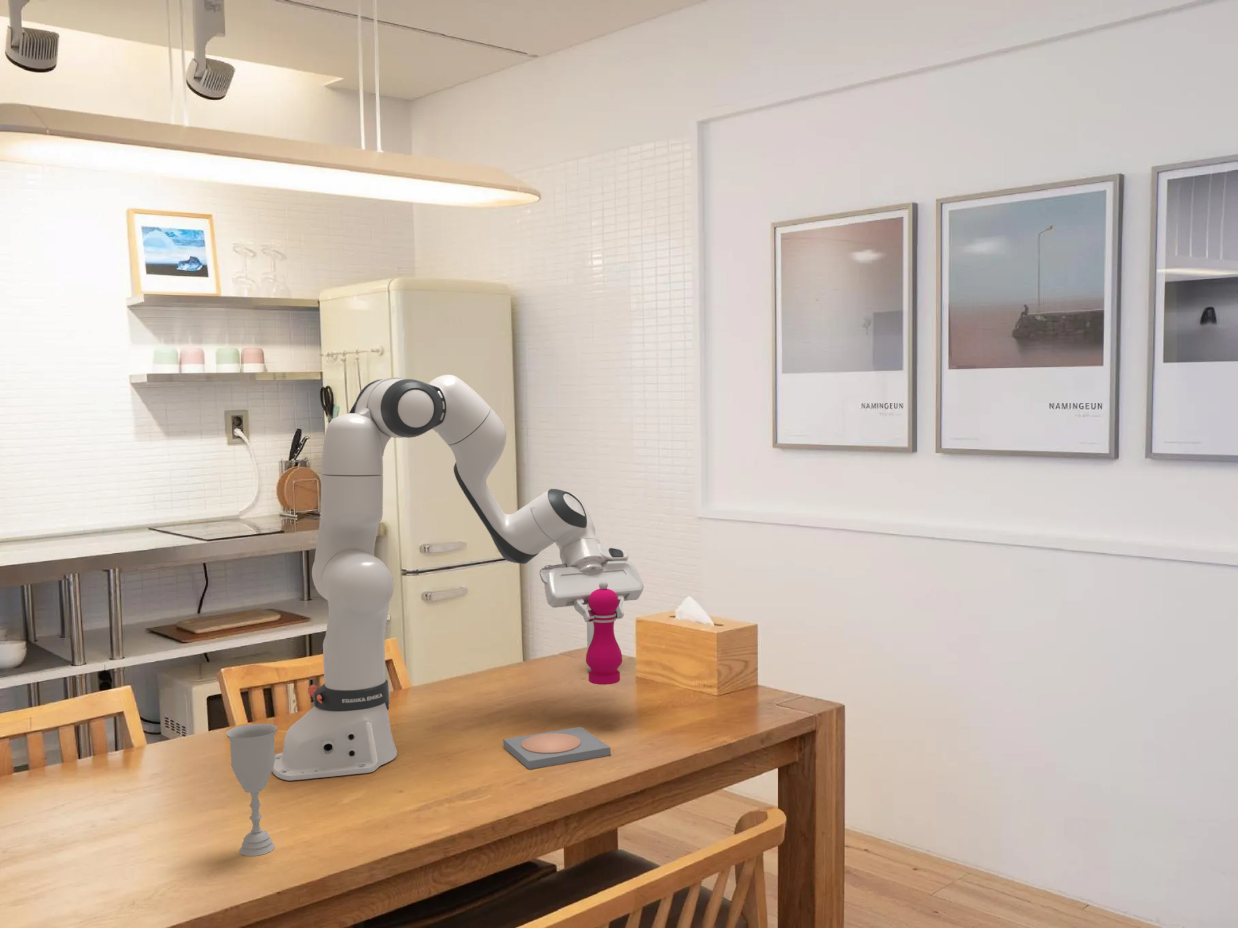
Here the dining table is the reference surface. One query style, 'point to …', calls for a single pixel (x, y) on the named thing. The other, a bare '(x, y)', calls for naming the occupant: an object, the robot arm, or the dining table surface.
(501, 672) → the dining table surface
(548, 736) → the mount board
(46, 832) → the dining table surface
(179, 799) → the dining table surface
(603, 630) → the pepper mill
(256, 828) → the chalice
